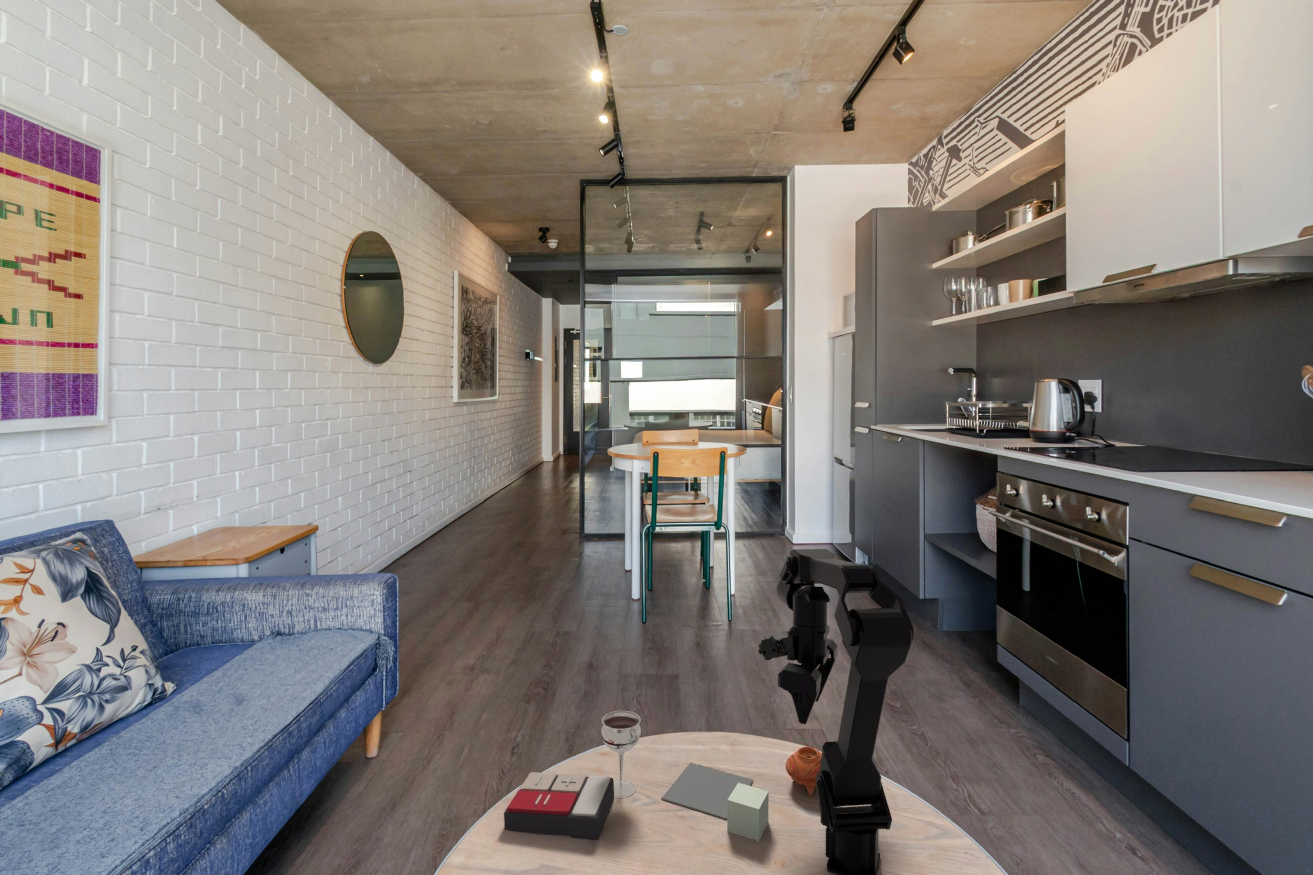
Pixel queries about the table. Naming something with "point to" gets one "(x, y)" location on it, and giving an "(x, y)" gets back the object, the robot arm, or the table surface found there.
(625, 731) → the wineglass
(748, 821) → the sage block
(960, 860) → the table surface
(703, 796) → the charcoal mat
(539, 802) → the calculator
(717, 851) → the table surface
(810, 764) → the pot
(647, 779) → the table surface
